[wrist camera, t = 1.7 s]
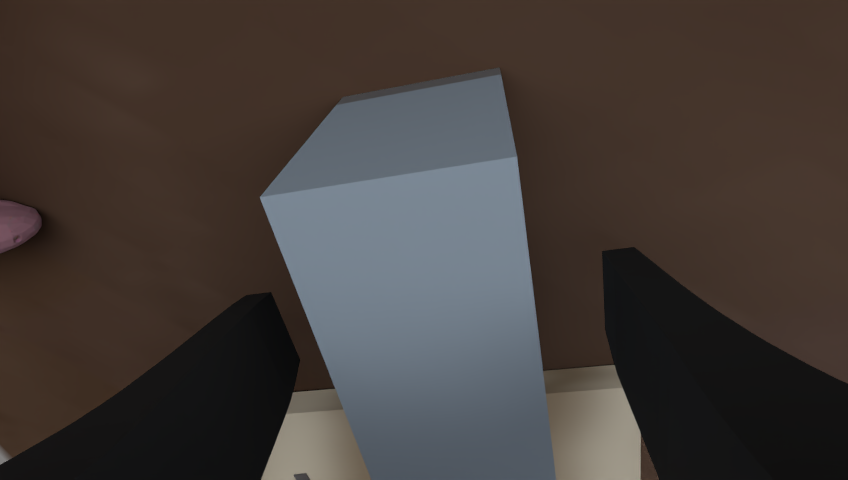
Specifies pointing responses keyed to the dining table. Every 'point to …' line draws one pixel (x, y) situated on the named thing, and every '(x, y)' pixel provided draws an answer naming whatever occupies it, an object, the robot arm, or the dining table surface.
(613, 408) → the marked board
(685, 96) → the dining table surface
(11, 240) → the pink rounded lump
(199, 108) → the dining table surface
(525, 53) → the dining table surface
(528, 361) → the block
